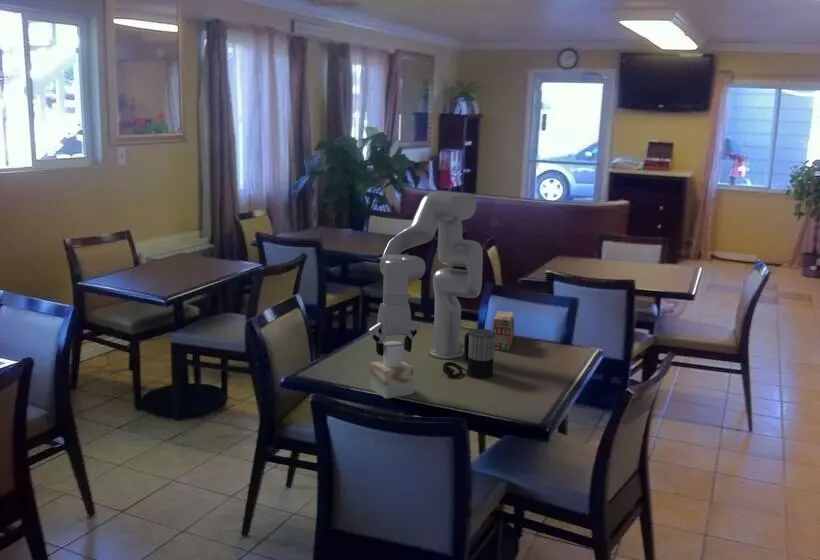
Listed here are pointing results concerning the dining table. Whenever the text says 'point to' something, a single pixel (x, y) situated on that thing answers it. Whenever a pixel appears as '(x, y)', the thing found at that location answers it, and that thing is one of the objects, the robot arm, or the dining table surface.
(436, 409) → the dining table surface
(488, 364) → the milk frother
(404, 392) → the tower bottom
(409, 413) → the dining table surface
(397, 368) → the tower top
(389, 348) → the white cylinder
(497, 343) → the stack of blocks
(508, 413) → the dining table surface
